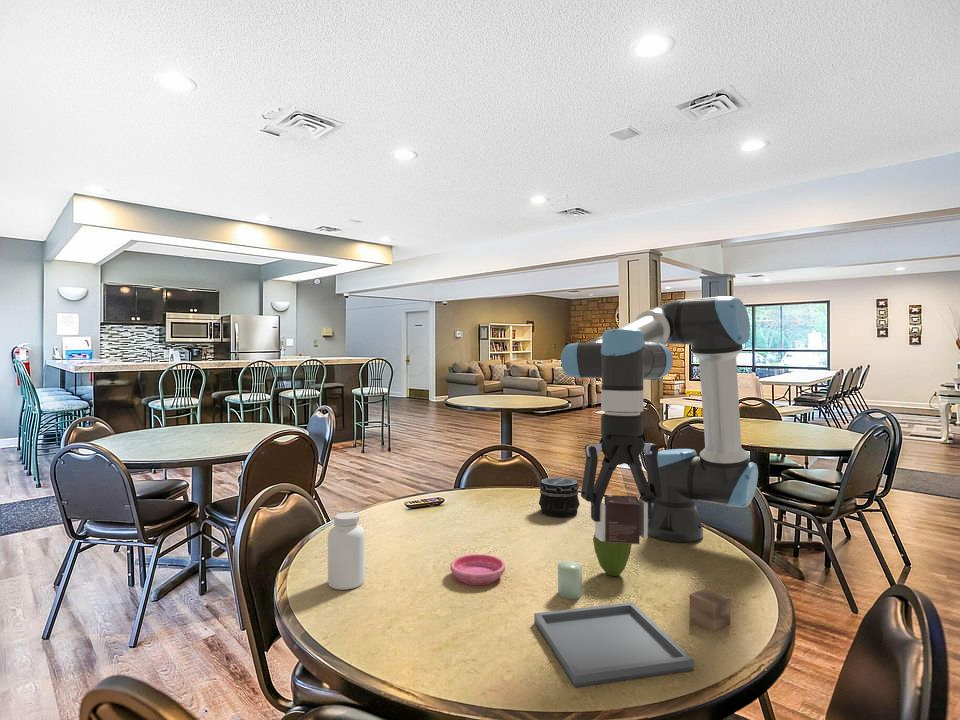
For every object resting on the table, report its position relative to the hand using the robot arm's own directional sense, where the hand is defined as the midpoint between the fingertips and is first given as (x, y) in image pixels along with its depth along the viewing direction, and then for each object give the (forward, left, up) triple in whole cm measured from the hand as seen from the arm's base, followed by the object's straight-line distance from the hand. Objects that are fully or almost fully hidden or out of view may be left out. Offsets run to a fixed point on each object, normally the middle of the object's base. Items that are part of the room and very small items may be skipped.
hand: (621, 537), depth 99 cm
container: (-14, -70, -17) cm, 73 cm away
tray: (+5, +5, -17) cm, 18 cm away
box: (0, 0, 0) cm, 0 cm away
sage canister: (+4, -15, -17) cm, 23 cm away
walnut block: (-17, +2, -17) cm, 24 cm away
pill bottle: (+50, -31, -17) cm, 61 cm away
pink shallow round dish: (+21, -28, -17) cm, 39 cm away
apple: (-9, -22, -17) cm, 29 cm away
